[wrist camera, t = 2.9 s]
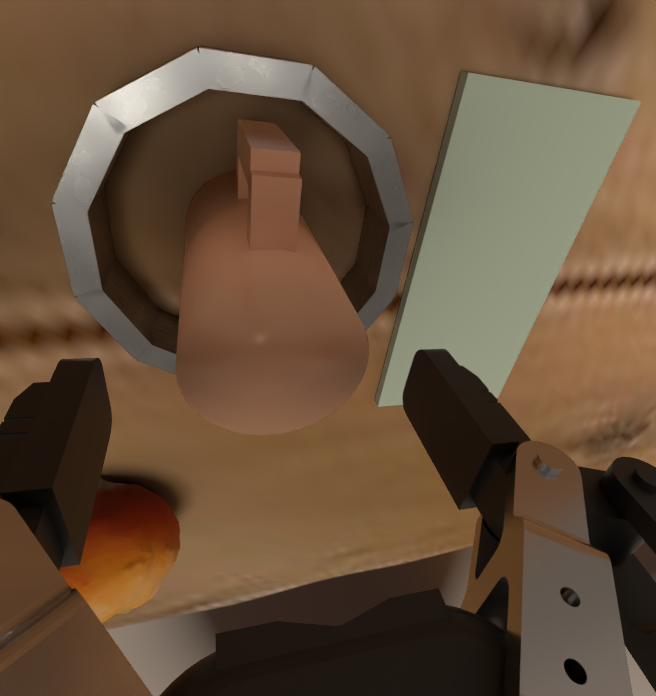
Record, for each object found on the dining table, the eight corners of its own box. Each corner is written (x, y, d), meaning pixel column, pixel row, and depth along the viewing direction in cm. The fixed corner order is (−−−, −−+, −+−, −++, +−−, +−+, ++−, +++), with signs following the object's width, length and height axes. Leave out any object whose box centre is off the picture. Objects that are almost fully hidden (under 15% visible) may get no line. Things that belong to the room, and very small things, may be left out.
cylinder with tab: (295, 281, 21) (352, 427, 13) (189, 279, 19) (182, 442, 12) (311, 115, 17) (408, 184, 9) (178, 99, 15) (156, 164, 8)
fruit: (74, 452, 22) (119, 609, 19) (174, 450, 29) (217, 563, 26) (-31, 527, 23) (-3, 684, 20) (90, 507, 31) (123, 621, 28)
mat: (461, 71, 17) (468, 72, 17) (631, 99, 19) (641, 101, 19) (374, 400, 27) (377, 406, 27) (493, 391, 30) (497, 397, 29)
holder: (40, 21, 13) (6, 18, 11) (413, 78, 17) (448, 85, 14) (108, 352, 21) (96, 393, 18) (357, 344, 24) (374, 377, 22)
